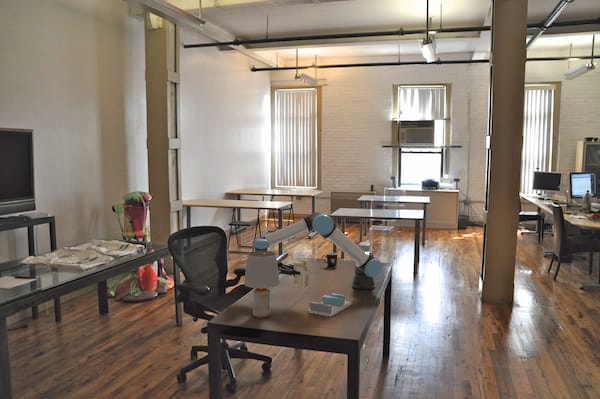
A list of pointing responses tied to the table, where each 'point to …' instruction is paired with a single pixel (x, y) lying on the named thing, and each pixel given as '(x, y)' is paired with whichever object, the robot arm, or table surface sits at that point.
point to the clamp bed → (337, 308)
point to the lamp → (261, 279)
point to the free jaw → (334, 299)
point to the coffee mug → (331, 259)
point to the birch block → (299, 280)
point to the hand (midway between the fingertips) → (308, 272)
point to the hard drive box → (365, 246)
